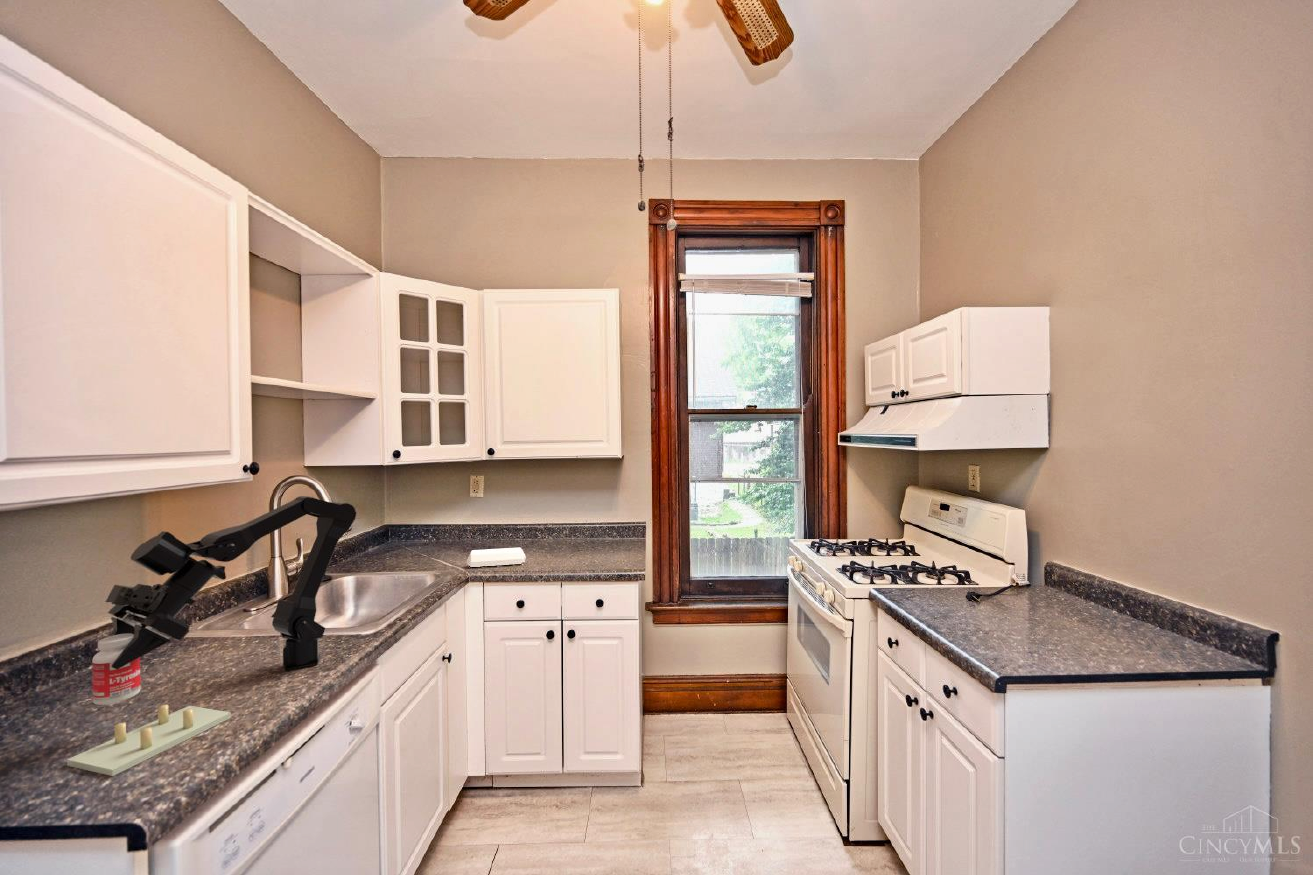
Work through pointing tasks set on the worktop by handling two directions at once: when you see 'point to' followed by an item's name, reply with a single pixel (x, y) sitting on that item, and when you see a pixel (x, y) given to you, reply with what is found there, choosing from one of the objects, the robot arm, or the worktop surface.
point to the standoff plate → (147, 739)
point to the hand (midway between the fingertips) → (106, 664)
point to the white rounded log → (496, 557)
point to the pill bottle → (114, 672)
